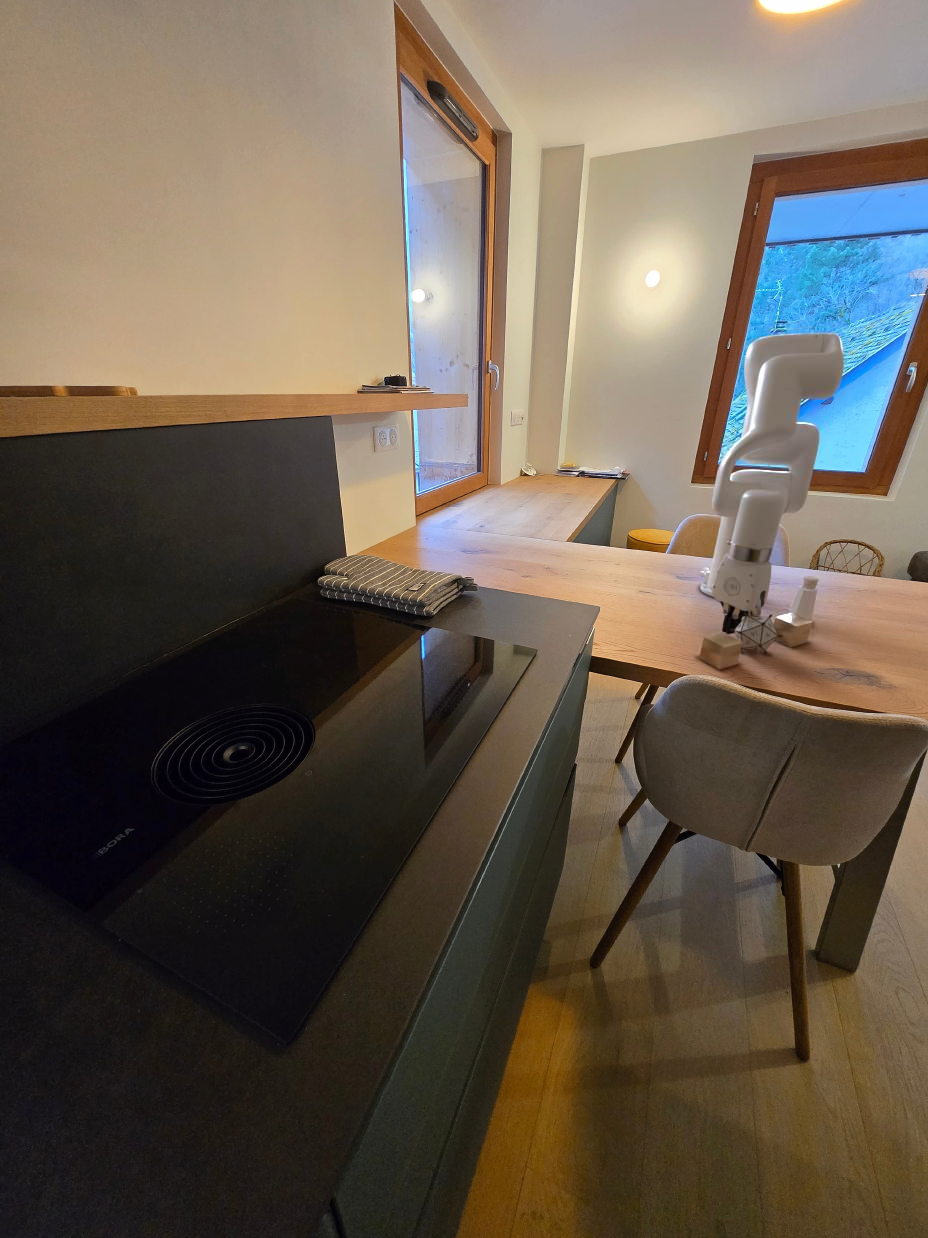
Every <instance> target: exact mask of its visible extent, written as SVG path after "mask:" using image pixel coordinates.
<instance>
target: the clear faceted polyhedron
mask: <svg viewBox="0 0 928 1238" xmlns="http://www.w3.org/2000/svg"><path fill="white" fill-rule="evenodd" d="M744 614H745V617H743V618H742V621H741V622H740V623H739V625H738V626H737V627H736V628H735V629H730V630H731V631H734V632H735V633H734V634H735V637H736V639H737V640H739V641H741V642H743V644H742V648H741V652H743V650H749V651H751V650H752V651H761V652H763V653H764V654H765V655H768V651H767V650H768V649H769V647H771V646H772V644H773V643H774V642H775V641H776V639H777V637H784V636H782V635H778V633H777V631H776V629H775V627H774V625H773V624H774V622H773V621H772V619H771V618H772V617H773V613H771V614H769V615H768V616H763V615H762V616H761V615H760V616H756V617H753V616H751V615H747V613H746V612H744Z"/></svg>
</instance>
